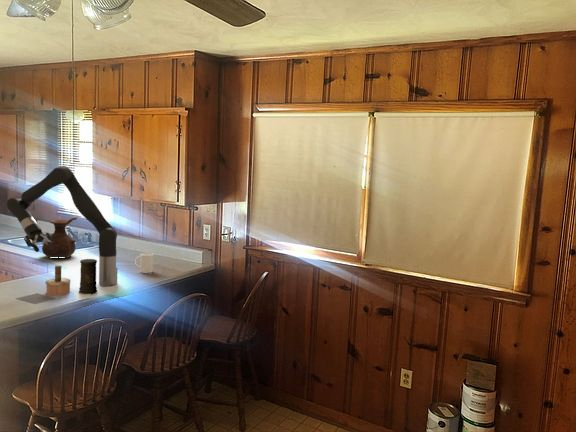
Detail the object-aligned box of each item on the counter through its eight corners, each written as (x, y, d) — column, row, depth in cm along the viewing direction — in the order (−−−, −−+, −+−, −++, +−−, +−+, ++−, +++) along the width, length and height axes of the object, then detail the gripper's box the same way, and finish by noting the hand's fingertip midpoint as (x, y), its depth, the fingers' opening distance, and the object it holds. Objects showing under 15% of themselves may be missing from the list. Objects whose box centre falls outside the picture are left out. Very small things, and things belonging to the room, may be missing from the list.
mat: (37, 294, 244) (37, 293, 244) (56, 299, 238) (56, 298, 238) (15, 299, 233) (15, 298, 233) (34, 305, 227) (34, 304, 227)
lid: (60, 278, 255) (60, 262, 254) (75, 281, 250) (75, 266, 249) (40, 282, 245) (40, 266, 244) (55, 286, 240) (55, 269, 239)
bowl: (60, 289, 255) (60, 278, 255) (74, 292, 251) (74, 281, 250) (41, 293, 246) (41, 282, 245) (56, 297, 241) (56, 286, 240)
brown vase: (54, 262, 316) (54, 218, 313) (35, 257, 327) (35, 215, 323) (82, 257, 335) (83, 216, 331) (64, 253, 345) (64, 213, 342)
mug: (132, 272, 300) (132, 254, 299) (137, 269, 309) (138, 252, 307) (150, 274, 299) (150, 256, 298) (155, 271, 308) (155, 253, 307)
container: (75, 292, 251) (75, 260, 249) (90, 289, 258) (91, 257, 256) (85, 296, 246) (85, 262, 244) (100, 292, 254) (100, 260, 252)
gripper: (21, 224, 249) (36, 247, 245) (45, 221, 262) (60, 243, 258) (15, 233, 252) (30, 256, 248) (39, 230, 265) (53, 252, 261)
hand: (45, 250), depth 253 cm, fingers open, 8 cm apart
